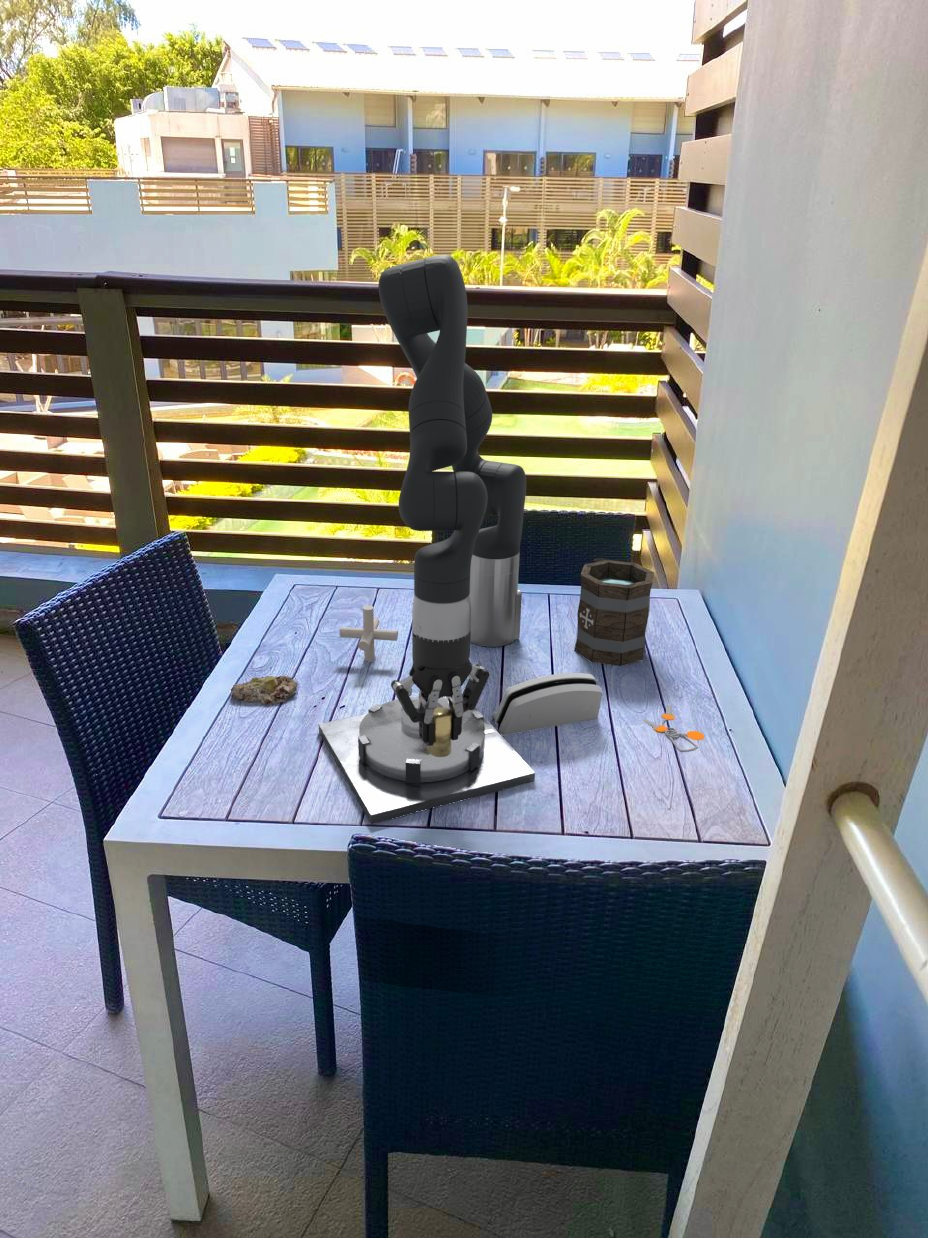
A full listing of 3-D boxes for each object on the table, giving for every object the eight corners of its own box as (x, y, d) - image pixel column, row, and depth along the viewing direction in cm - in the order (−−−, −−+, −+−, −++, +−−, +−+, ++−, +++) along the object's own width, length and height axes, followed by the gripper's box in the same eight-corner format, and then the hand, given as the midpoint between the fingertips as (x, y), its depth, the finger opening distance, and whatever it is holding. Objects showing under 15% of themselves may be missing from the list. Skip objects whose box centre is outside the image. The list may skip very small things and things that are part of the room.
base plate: (462, 701, 140) (462, 693, 140) (534, 781, 121) (535, 772, 120) (318, 732, 131) (318, 723, 130) (371, 824, 111) (371, 814, 111)
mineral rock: (295, 666, 146) (297, 676, 138) (298, 691, 147) (300, 703, 139) (229, 674, 144) (228, 685, 136) (233, 699, 144) (231, 711, 137)
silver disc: (341, 728, 129) (339, 675, 125) (455, 704, 136) (456, 653, 132) (382, 795, 114) (381, 737, 110) (507, 763, 121) (510, 708, 118)
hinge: (584, 703, 141) (599, 660, 134) (596, 725, 138) (612, 683, 131) (489, 719, 136) (499, 676, 129) (499, 742, 132) (510, 699, 126)
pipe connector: (401, 648, 157) (401, 598, 153) (392, 674, 148) (391, 621, 144) (347, 645, 158) (346, 594, 154) (335, 670, 149) (332, 617, 145)
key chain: (717, 747, 130) (718, 743, 130) (675, 755, 128) (675, 750, 128) (672, 706, 141) (672, 702, 141) (632, 713, 139) (633, 708, 139)
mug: (657, 664, 154) (667, 586, 148) (583, 667, 152) (590, 589, 146) (624, 618, 172) (632, 547, 165) (558, 621, 170) (563, 549, 164)
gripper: (478, 606, 116) (474, 716, 124) (379, 622, 111) (382, 737, 118) (503, 628, 110) (498, 743, 117) (400, 646, 105) (401, 766, 112)
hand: (440, 739), depth 118 cm, fingers closed on silver disc, 3 cm apart
